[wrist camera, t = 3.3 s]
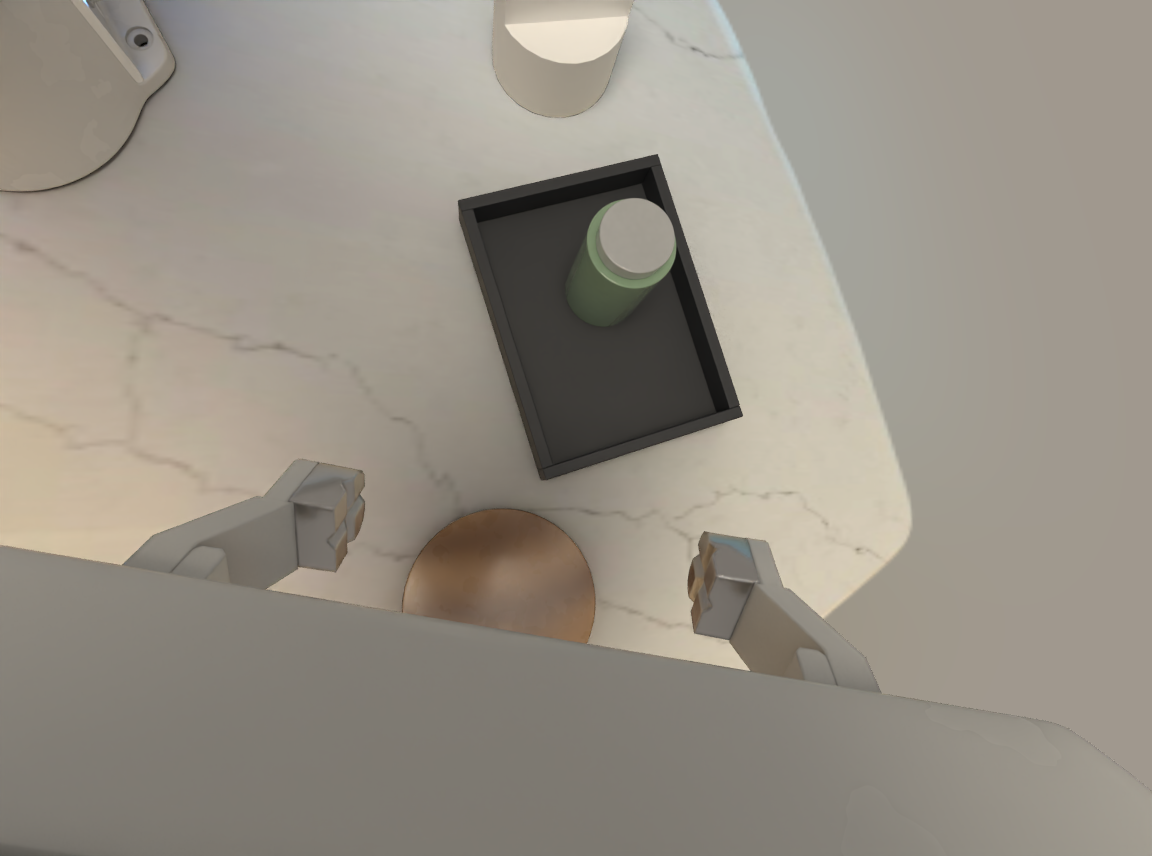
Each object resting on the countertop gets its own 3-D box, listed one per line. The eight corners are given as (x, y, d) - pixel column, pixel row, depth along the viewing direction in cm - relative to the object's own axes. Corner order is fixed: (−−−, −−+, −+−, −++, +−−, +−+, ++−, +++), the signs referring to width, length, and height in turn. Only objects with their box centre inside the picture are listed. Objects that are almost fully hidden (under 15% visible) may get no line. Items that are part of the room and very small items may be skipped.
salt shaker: (555, 264, 44) (578, 200, 34) (624, 246, 45) (666, 179, 35) (577, 335, 44) (607, 292, 34) (646, 316, 45) (695, 268, 35)
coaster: (378, 543, 41) (377, 544, 40) (561, 484, 43) (562, 484, 43) (435, 730, 41) (435, 735, 40) (617, 660, 43) (619, 664, 42)
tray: (459, 219, 44) (457, 200, 41) (646, 175, 46) (657, 153, 43) (540, 480, 43) (545, 480, 40) (725, 420, 46) (743, 416, 43)
